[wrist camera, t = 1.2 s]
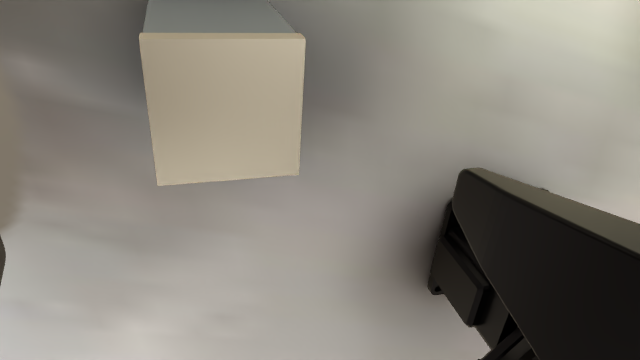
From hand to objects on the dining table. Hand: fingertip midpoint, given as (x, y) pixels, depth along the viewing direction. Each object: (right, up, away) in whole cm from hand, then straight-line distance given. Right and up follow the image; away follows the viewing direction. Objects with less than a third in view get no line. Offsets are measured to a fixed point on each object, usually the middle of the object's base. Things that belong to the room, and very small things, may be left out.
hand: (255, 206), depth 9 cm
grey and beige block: (-3, +5, +8) cm, 10 cm away
